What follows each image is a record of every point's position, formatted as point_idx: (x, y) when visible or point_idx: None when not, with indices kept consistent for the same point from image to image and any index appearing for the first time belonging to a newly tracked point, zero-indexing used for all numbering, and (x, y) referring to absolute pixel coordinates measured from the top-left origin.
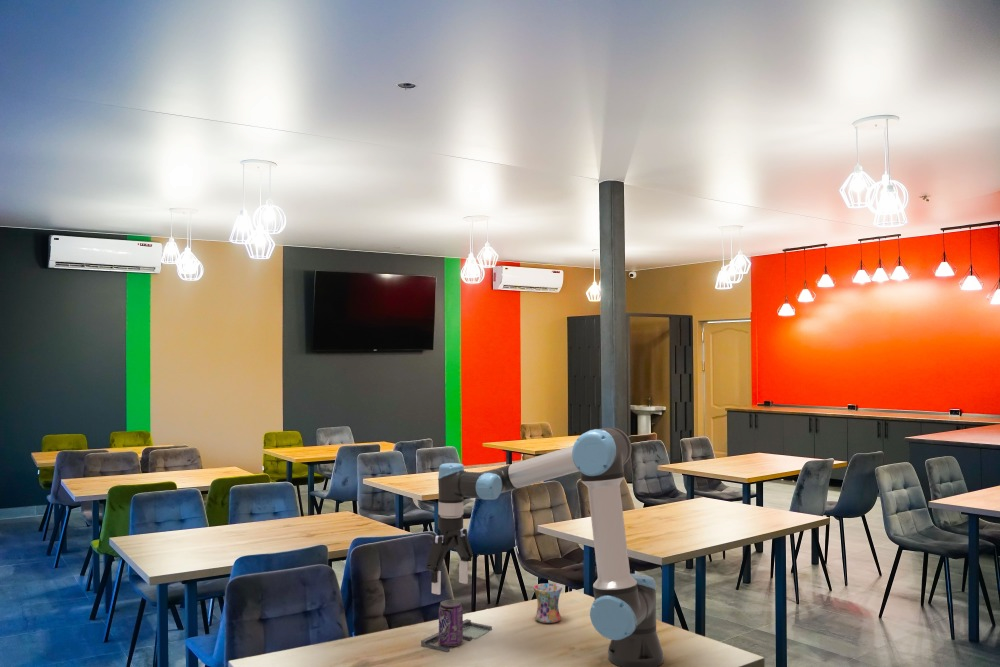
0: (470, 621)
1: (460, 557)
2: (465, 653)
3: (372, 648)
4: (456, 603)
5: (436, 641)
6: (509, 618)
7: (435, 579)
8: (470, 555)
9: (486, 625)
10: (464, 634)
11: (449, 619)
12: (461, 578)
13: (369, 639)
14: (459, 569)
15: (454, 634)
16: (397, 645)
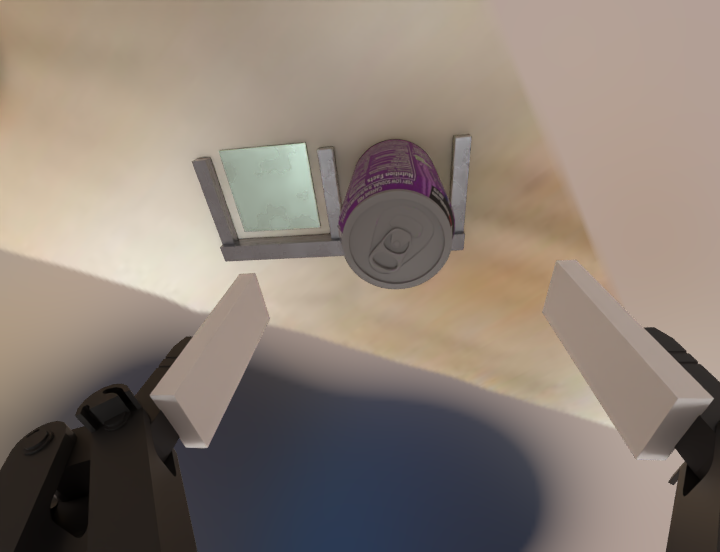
0: (224, 245)
1: (179, 476)
2: (444, 64)
3: (536, 324)
4: (377, 221)
5: None
6: (81, 183)
7: (675, 351)
8: (58, 449)
9: (201, 183)
10: (304, 198)
11: (443, 188)
12: (256, 322)
13: (481, 361)
14: (237, 381)
15: (421, 155)
16: (487, 293)
